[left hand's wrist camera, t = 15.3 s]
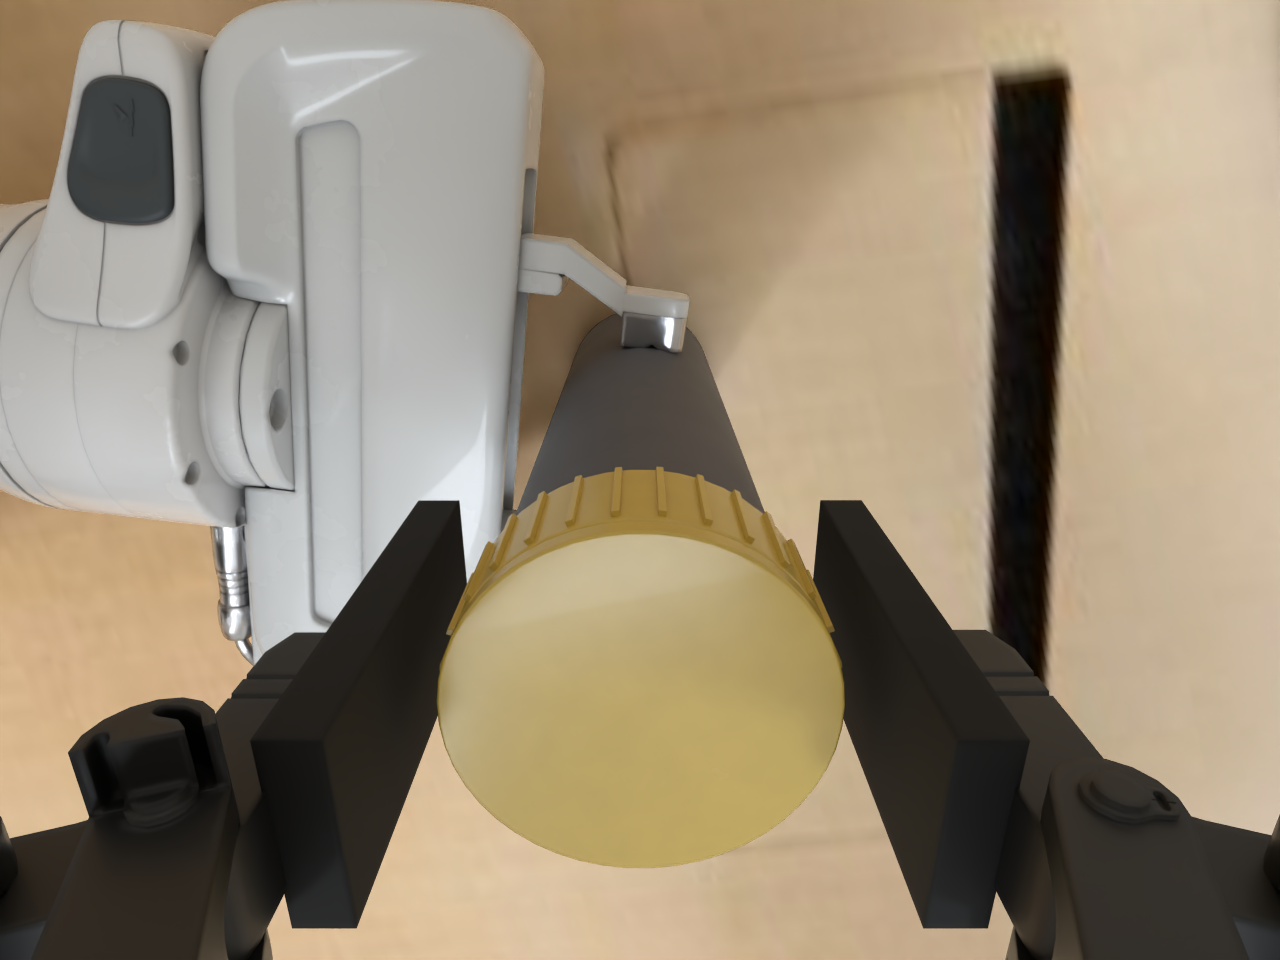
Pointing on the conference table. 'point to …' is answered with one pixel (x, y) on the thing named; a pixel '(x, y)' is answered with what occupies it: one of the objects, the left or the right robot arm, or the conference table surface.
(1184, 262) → the conference table surface
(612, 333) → the dark grey cylinder
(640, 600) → the lid
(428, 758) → the conference table surface
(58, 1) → the conference table surface
